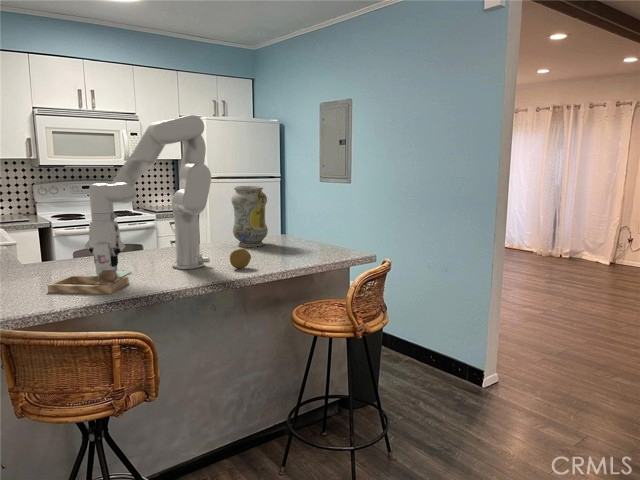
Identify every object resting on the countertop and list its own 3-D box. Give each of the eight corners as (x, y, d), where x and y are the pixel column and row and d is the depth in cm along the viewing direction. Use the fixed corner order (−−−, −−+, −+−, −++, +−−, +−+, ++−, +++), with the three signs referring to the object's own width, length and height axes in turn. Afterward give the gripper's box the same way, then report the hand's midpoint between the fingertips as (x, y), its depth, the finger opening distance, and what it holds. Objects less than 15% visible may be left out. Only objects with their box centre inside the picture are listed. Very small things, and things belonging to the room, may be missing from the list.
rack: (128, 283, 164) (128, 276, 164) (110, 294, 151) (109, 286, 151) (71, 282, 165) (70, 275, 165) (48, 292, 153) (47, 285, 152)
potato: (227, 269, 186) (226, 250, 184) (237, 265, 193) (236, 246, 191) (242, 271, 183) (242, 251, 182) (252, 267, 190) (251, 248, 189)
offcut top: (116, 278, 161) (116, 269, 160) (113, 282, 155) (113, 273, 155) (103, 278, 160) (102, 270, 159) (99, 283, 154) (98, 274, 154)
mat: (131, 272, 180) (131, 271, 180) (113, 282, 166) (112, 280, 166) (101, 271, 181) (101, 270, 180) (80, 281, 167) (80, 280, 167)
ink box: (104, 270, 177) (102, 240, 175) (117, 270, 178) (115, 239, 175) (95, 276, 169) (93, 244, 167) (109, 275, 169) (107, 244, 167)
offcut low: (121, 286, 161) (120, 278, 161) (111, 292, 155) (110, 283, 154) (107, 286, 162) (106, 277, 161) (96, 291, 155) (95, 283, 154)
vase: (251, 249, 226) (250, 188, 221) (225, 245, 236) (223, 186, 231) (274, 244, 241) (274, 186, 236) (248, 240, 251) (247, 185, 246)
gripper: (130, 216, 173) (133, 264, 176) (86, 215, 174) (90, 263, 177) (120, 219, 165) (124, 268, 168) (74, 218, 166) (78, 267, 170)
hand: (106, 265), depth 173 cm, fingers closed on ink box, 5 cm apart
